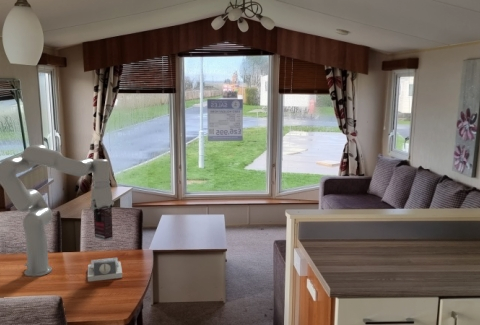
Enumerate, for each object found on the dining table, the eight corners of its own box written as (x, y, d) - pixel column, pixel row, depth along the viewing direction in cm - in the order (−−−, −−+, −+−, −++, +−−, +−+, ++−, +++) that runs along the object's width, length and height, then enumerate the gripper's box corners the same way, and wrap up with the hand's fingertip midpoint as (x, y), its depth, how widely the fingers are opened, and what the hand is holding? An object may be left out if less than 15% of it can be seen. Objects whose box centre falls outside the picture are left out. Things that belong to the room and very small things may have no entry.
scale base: (88, 269, 224) (87, 253, 223) (120, 265, 229) (120, 250, 228) (87, 281, 209) (87, 265, 207) (122, 277, 214) (121, 261, 212)
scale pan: (91, 262, 223) (91, 260, 223) (117, 259, 227) (117, 257, 227) (90, 270, 213) (90, 267, 212) (118, 267, 217) (118, 264, 217)
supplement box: (113, 238, 217) (112, 207, 215) (105, 240, 213) (104, 209, 211) (102, 235, 222) (100, 205, 220) (94, 237, 218) (92, 206, 216)
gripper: (109, 180, 223) (110, 215, 226) (82, 186, 209) (84, 223, 211) (119, 182, 219) (121, 217, 222) (93, 188, 205) (95, 225, 207)
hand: (103, 219), depth 217 cm, fingers closed on supplement box, 5 cm apart
